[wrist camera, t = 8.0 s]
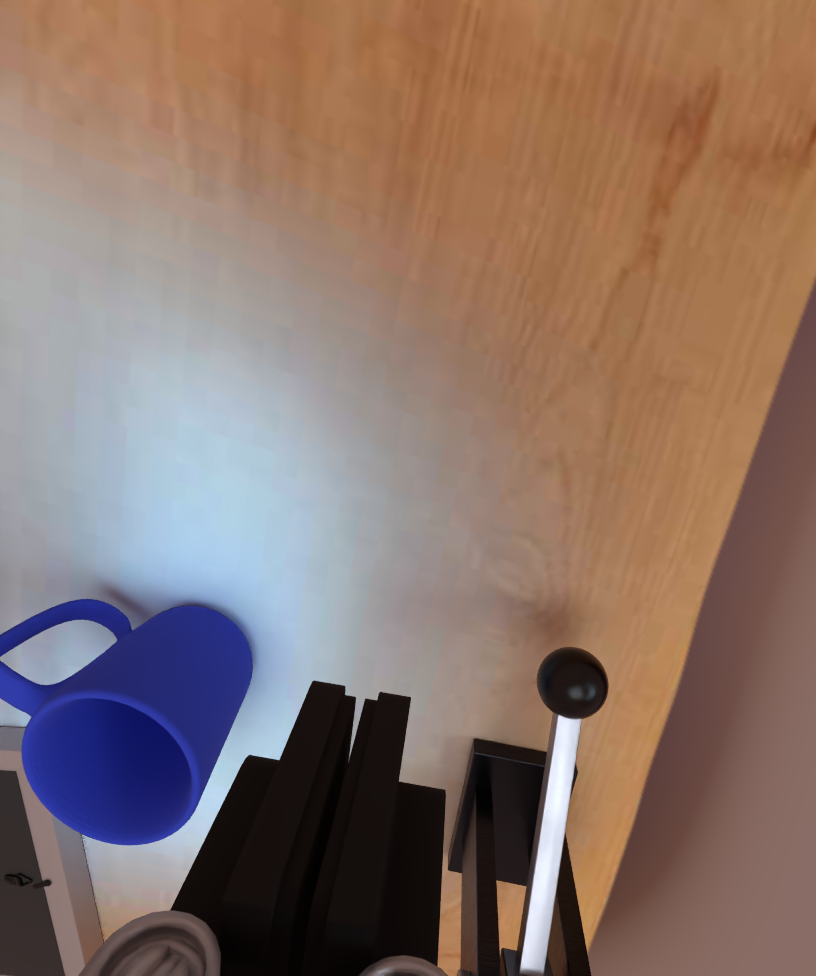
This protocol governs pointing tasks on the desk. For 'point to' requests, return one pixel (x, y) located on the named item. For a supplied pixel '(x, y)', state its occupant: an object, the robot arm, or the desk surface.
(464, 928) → the lever bracket
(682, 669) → the desk surface
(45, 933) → the picture frame
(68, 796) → the mug
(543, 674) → the ball knob lever
